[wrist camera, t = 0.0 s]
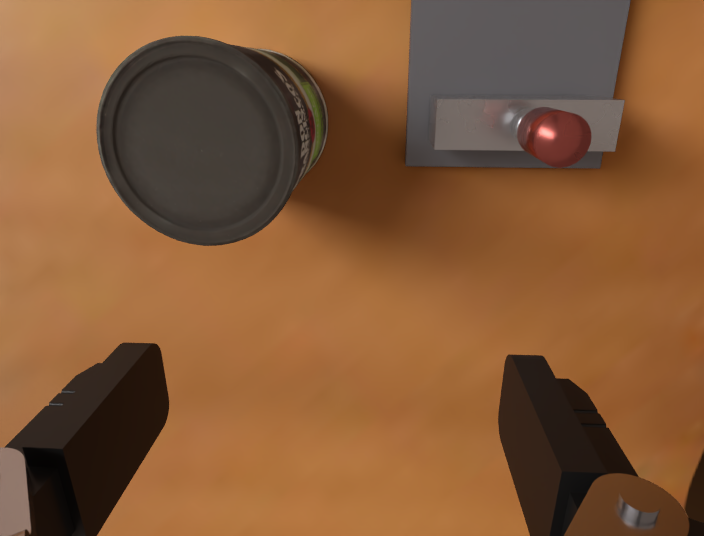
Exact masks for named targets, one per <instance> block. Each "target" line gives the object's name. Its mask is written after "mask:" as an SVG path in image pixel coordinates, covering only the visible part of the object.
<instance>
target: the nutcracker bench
mask: <svg viewBox="0 0 704 536" xmlns="http://www.w3.org/2000/svg"><path fill="white" fill-rule="evenodd" d="M630 1H631V0H411V23H410V49H409V75H408V100H407V126H406V152H405V165H406V166H432V167H519V168H557V167H552V166H549V165H548V164H546V163H544V162H542V161H541V160H539V159H537V158H536V157H534V156H532V155H531V154H529V153H527V152H526V151H508V150H434V148H433V147H432V145H431V143H430V142H429V140H428V131H429V113H430V95H549V96H599V97H606V98H613V94H614V89H615V83H616V78H617V72H618V67H619V61H620V56H621V50H622V45H623V39H624V34H625V28H626V23H627V17H628V12H629V6H630ZM602 155H603V151H587V152H586V154H585V155H584V156H583V158H582V159H580V160H579V161H578V162H577V163H575V164H573V165H571V166H568V167H563V168H600V166H601V161H602Z"/></svg>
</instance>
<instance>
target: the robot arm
mask: <svg viewBox="0 0 704 536" xmlns="http://www.w3.org/2000/svg"><path fill="white" fill-rule="evenodd" d="M168 411H169V397H168V391H167V385H166V379H165V373H164V367H163V361H162V354H161V350H160V348H159V346H158V345H157V344H154V343H122V344H120V345H119V346H118V347H117V348H116V349H115V350H114V351H113V352H112V353H111V354H110V355H109V357H108V358H107V359H106V360H105V361H104V362H103V363H97V364H95V365H94V366H92V367H90V368H89V369H87V370H85V371H83V372H82V373H80V374H78V375H77V376H75V377H74V378H73V379H72V380H71V381H70V382H69V383H68V384H67V385H66V386H65V387H64V388H63V389H62V392H61V393H58V394H57V395H56V396H55V397H54V398H53V399H52V400H51V401H50V402H49V406H45V407H44V408H43V409H42V410H41V411H40V412H39V413H38V414H37V415H36V416H35V417H34V418H33V419H32V420H31V421H30V422H29V423H28V424H27V425H26V426H25V427H24V428H23V429H22V430H21V431H20V432H19V433H18V434H17V435H16V436H15V437H14V438H13V439H12V440H11V441H10V442H9V443H8V444H7V445H6V446H5V447H4V448H0V536H97V534H98V533H99V531H100V530H101V528H102V526H103V525H104V523H105V521H106V520H107V518H108V517H109V515H110V513H111V512H112V510H113V508H114V507H115V505H116V504H117V502H118V500H119V499H120V497H121V495H122V494H123V492H124V491H125V489H126V487H127V486H128V484H129V482H130V481H131V479H132V478H133V476H134V474H135V473H136V471H137V469H138V468H139V466H140V465H141V463H142V461H143V460H144V458H145V456H146V455H147V453H148V452H149V450H150V448H151V447H152V445H153V443H154V442H155V440H156V439H157V437H158V435H159V434H160V432H161V430H162V429H163V427H164V425H165V423H166V420H167V416H168ZM498 423H499V434H500V439H501V443H502V446H503V449H504V453H505V456H506V459H507V462H508V466H509V469H510V472H511V475H512V478H513V482H514V485H515V488H516V491H517V495H518V498H519V501H520V504H521V508H522V511H523V514H524V517H525V520H526V524H527V527H528V530H529V533H530V536H704V523H702V522H699V521H696V520H693V519H690V518H688V516H687V514H686V512H685V510H684V509H683V507H682V506H681V505H680V503H679V502H678V501H677V500H676V499H675V498H674V497H673V496H672V495H671V494H669V493H668V492H667V491H665V490H664V489H663V488H661V487H659V486H658V485H656V484H654V483H652V482H650V481H648V480H645V479H643V478H640V477H638V475H637V473H636V472H635V470H634V468H633V467H632V465H631V464H630V462H629V460H628V459H627V457H626V456H625V454H624V452H623V451H622V449H621V447H620V446H619V444H618V443H617V441H616V439H615V438H614V436H613V435H612V433H611V431H610V430H609V428H606V423H605V422H604V420H603V418H602V417H601V415H600V414H598V413H597V409H596V407H595V405H594V404H593V402H592V401H591V399H590V397H589V396H588V394H587V393H586V392H585V391H583V390H582V389H581V388H579V387H578V386H577V385H576V384H574V383H573V382H572V381H571V380H569V379H556V378H555V376H554V374H553V372H552V370H551V368H550V367H549V365H548V363H547V361H546V359H545V358H544V357H543V356H538V355H508V356H507V357H506V361H505V366H504V374H503V382H502V390H501V398H500V406H499V416H498Z"/></svg>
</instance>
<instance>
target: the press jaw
mask: <svg viewBox="0 0 704 536" xmlns="http://www.w3.org/2000/svg"><path fill="white" fill-rule="evenodd" d="M624 102H625V100H621V99H613V98H606V97H599V96H549V95H430V113H429V131H428V140H429V142H430V143H431V145H432V147H433V148H434V150H508V151H526V152H527V153H529V154H531V155H532V156H534V157H536V158H537V159H539V160H541V161H542V162H544V163H546V164H548V165H549V166H552V167H557V168H563V167H568V166H571V165H573V164H575V163H577V162H578V161H579V160H580V159H582V158H583V156H584V155H585V154H586V152H587V151H612V152H615V149H616V144H617V139H618V133H619V128H620V123H621V118H622V112H623V107H624Z"/></svg>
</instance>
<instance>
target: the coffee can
mask: <svg viewBox="0 0 704 536" xmlns="http://www.w3.org/2000/svg"><path fill="white" fill-rule="evenodd" d="M327 133H328V113H327V108H326V104H325V101H324V98H323V95H322V93H321V91H320V89H319V87H318V85H317V84H316V82H315V81H314V79H313V78H312V77H311V75H310V74H309V73H308V72H307V71H306V70H305V69H304V68H303V67H302V66H301V65H300V64H299V63H297V62H296V61H294V60H293V59H291V58H289V57H288V56H286V55H284V54H281V53H278V52H275V51H271V50H266V49H254V48H246V47H240V46H235V45H230V44H226V43H224V42H221V41H217V40H214V39H210V38H205V37H199V36H175V37H168V38H164V39H160V40H157V41H154V42H151V43H149V44H147V45H145V46H143V47H141V48H139V49H138V50H136V51H135V52H134V53H132V54H131V55H129V56H128V57H127V58H126V59H125V60H124V61H123V62H122V63H121V64H120V65H119V66H118V67H117V69H116V70H115V71H114V73H113V74H112V75H111V77H110V79H109V81H108V83H107V84H106V86H105V89H104V91H103V94H102V97H101V100H100V104H99V109H98V114H97V143H98V149H99V154H100V158H101V162H102V165H103V168H104V170H105V172H106V175H107V177H108V179H109V181H110V183H111V185H112V186H113V188H114V190H115V191H116V193H117V194H118V196H119V197H120V198H121V200H122V201H123V202H124V203H125V205H126V206H127V207H128V208H129V209H130V210H131V211H132V212H133V213H134V214H135V215H136V216H137V217H138V218H140V219H141V220H142V221H143V222H145V223H146V224H147V225H149V226H150V227H152V228H153V229H155V230H157V231H158V232H160V233H163V234H164V235H166V236H168V237H171V238H173V239H176V240H178V241H182V242H186V243H189V244H195V245H203V246H215V245H224V244H229V243H234V242H237V241H240V240H243V239H246V238H248V237H250V236H252V235H254V234H256V233H257V232H259V231H260V230H262V229H263V228H264V227H266V226H267V225H268V224H269V223H270V222H271V221H272V220H273V219H274V218H275V217H276V216H277V215H278V214H279V212H280V211H281V210H282V209H283V207H284V205H285V204H286V202H287V201H288V199H289V197H290V195H291V193H292V191H293V190H294V188H295V187H296V186H297V185H298V183H299V182H300V181H301V180H302V178H303V177H304V176H305V174H306V173H308V172H309V171H310V169H311V168H312V167H313V166H314V165H315V164H316V162H317V161H318V159H319V157H320V155H321V153H322V151H323V149H324V146H325V143H326V139H327Z"/></svg>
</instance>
